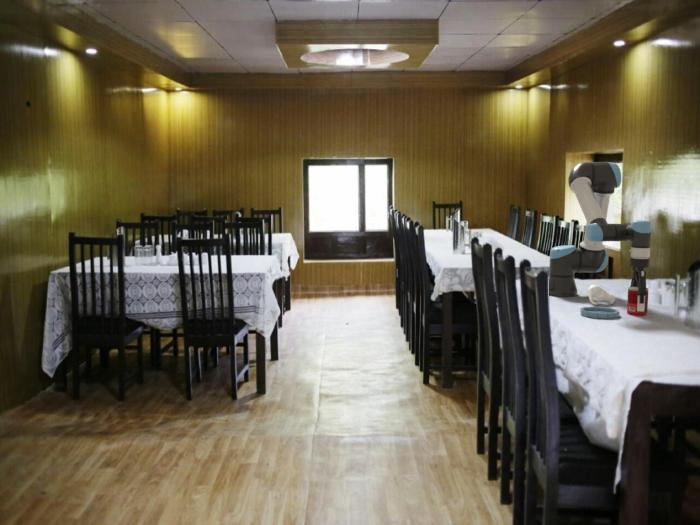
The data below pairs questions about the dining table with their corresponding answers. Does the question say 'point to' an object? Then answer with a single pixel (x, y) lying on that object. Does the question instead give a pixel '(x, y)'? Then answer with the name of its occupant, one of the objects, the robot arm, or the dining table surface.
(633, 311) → the canned food
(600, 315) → the dish
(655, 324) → the dining table surface
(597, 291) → the penguin figurine
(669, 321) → the dining table surface
